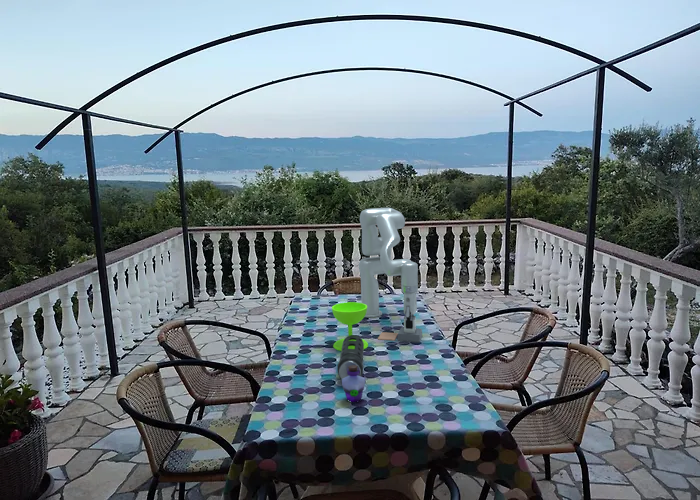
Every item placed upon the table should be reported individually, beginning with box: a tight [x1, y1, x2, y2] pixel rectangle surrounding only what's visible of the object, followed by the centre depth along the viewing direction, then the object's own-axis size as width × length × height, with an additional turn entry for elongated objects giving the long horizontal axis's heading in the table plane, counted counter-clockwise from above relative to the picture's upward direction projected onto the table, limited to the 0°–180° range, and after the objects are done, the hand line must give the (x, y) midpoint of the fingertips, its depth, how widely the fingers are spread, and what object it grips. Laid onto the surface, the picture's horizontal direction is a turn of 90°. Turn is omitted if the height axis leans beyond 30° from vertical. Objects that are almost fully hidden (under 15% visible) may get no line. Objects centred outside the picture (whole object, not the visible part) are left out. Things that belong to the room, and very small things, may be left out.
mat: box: [377, 331, 398, 342], centre depth 225 cm, size 8×9×1 cm
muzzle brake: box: [336, 334, 365, 380], centre depth 187 cm, size 10×28×10 cm, turn 177°
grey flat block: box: [397, 327, 423, 343], centre depth 221 cm, size 10×9×4 cm
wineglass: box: [331, 301, 369, 352], centre depth 214 cm, size 16×16×18 cm
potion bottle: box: [341, 365, 366, 402], centre depth 163 cm, size 9×9×12 cm
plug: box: [403, 314, 417, 333], centre depth 221 cm, size 5×4×9 cm
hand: (409, 326), depth 221 cm, fingers closed on plug, 3 cm apart
